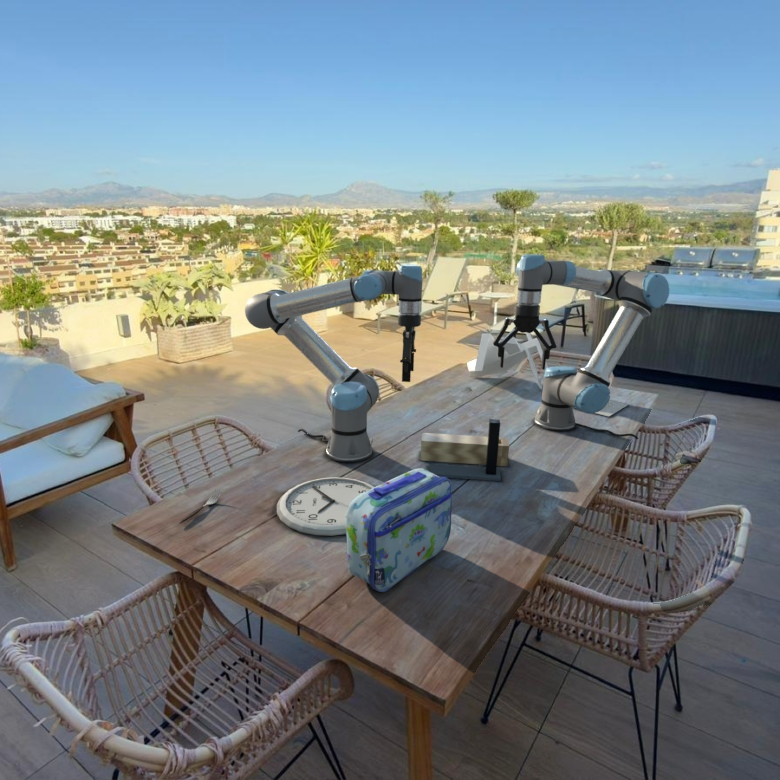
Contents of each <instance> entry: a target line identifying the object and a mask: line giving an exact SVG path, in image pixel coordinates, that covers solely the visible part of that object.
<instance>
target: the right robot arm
mask: <svg viewBox="0 0 780 780" xmlns="http://www.w3.org/2000/svg"><path fill="white" fill-rule="evenodd" d="M515 267H516V268H515V273H516V275H517V277H518V278H517V279H518V280H517V292H516V303H517V304H515V313H514V318H509V317H505V318H504V323H503V324H502V326H501V328H500V330H499V332H498V333H497V334H496V337H495V338H494V339H495V340H494V341H493V345H494V346H497V347H498V357H501V360H500V367H501V368H503V361H504V350H505V348H504V347H503V346H504V345H505V344H506V343H507V342H508V341H509V340H510V339H511V338H512V337H515V335H516V334H518V333H522V334H524V333H525V334H526V332H527V333H530V334H531V333H534V334H535V335H536V336H537V337H536V338H537V339H538V340H539V342H540V343H542V345H543V346H544V347H543V348H542V351H543V355H542V361H541V365H540V367H541V370H543V371H544V375H543V381H542V390H541V391H542V392H541V402H540V405H539V407H538V408H537V411H536V413H535V417H534V424H535V425H536V426H537V427H539V428H542V429H544V430H549V431H556V432H567V431H572V430H574V429H575V428H576V426H577V427H581V428H583V429H584V428H585V429H587V430H592V431H594V432H601V433H608V434H610V435H612V436H614V437H620V438H621V437H623V438H624V437H633V438H634V439H636V440H639V437H638V436H637V435H636V434H634V433H622V434H621V433H620V434H619V433H615V432H613V431H612V430H608V429H603V428H602V429H601V428H596V427H595V428H594V427H591V426H588V425H586V424H582V423H577V422H576V418H575V417H576V416H575V413H574V409H575V410H577V411H579V412H581V413H585V414H589V415H590V414H591V415H593V414H596V412H599V411H600V410H602V409H603V408H604V407H605V406H606V405H607V403H608V401H609V400H610V399H611V390H610V388H609V387H610V385H611V381H610V376H611V374H612V373H613V371H614V369H615V367H616V366H617V364H618V362H619V360H620V359H621V357H622V355H623V353H624V352H625V351H626V349H627V347H628V345H629V344H630V341H631V340H632V337H634V335H635V332H636V331H637V330H638V328H639V326H640V324H641V323H642V320H643V319H645V318H647V317H650V316H651V314H652V312H653V311H654V310H656V309H660V308H662V307H663V306H664V305H665V304H666V303H667V301H668V300H669V296H670V283H669V281H668V279H667V278H666V277H665V276H664V275H662V274H661V273H655V272H651V271H650V272H647V271H645V272H644V271H636V270H624V269H621V270H620V269H617V270H616V269H615V270H614V269H605V268H602V269H599V270H595V269H590V268H585V267H580V266H576V265H575V263H574V262H573V261H571V260H554V259H546V256H545V255H544V254H535V253H534V254H533V253H532V254H531V253H529V254H523V255H521V256H520V260H519V261H518V262H517V264H516V266H515ZM547 285H554V286H558V287H566V288H571V289H576V290H582V291H588V292H592V293H593V294H594V295H596V296H599V297H604V298H607V299H610V300H613V301H616V302H617V304H618V307H619V308H618V310H617V311H616V313H615V315H614V317H613V318H612V320H611V322H610V324H609V326H608V327H607V328H606V331H605V333H604V334H603V335H602V338H601V340H600V341H599V342H598V345H597V347H596V348H595V350H594V351H593V353H592V355H591V357H590V359H589V360H588V362H587V364H586V366H583V367H580V368H579V369H577V368H576V367H574V366H566V365H565V366H564V365H562V366H561V365H559V366H558V365H557V366H548V368H547V369H546V370H545V363H547V360H549V359H550V356H551V355H550V354H551V350H553V349H556V348H557V343H556V342H555V338H554V336H553V334H552V332H551V329H550V320H549V319H547V318H544V319H540V311H541V306H540V304H541V303H542V301H541V300H542V292H543V286H547ZM512 324H513V325H514V327H513V328H512V330H510V331H509V333H508V334H507V335H505V333H506V331H507V330H508V328H509V326H511V325H512ZM539 325H541V326H542V327H543V329H544V331H545V333H546V335H547V338H548V341H549V343H548V342H547V341H546V340H545V338H544V336H543V335H542V334H541V332H539V330H538V326H539ZM504 335H505V337H504V338H503V336H504ZM500 340H502V341H501V342H500V343H499V341H500Z"/></svg>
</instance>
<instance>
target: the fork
mask: <svg viewBox="0 0 780 780" xmlns="http://www.w3.org/2000/svg"><path fill="white" fill-rule="evenodd" d="M222 493H223V491H221V490H219V489H217V490H216V489H215V490H214V492H213V493H212V495H211V496H210V498H209V499H208V500H207V501H206V502H205V504H203V505H202V506H200V507H198V508H196V509H194V510H192V512H191V513H189V514H188V515H187V516H186V517H185V518H183V519H182V520H181V521H180V522H179V523H178V525H180V524H182V523H184V522H186V521H187V520H189V519H191V518H192V517H194V516H195V515H197V514H198V513H199V512H201V511H202V510H203V509H204V508H205V507H206V506H210V505H215V504H216V503H217V502H218V500H219V498H220V497H221V495H222Z"/></svg>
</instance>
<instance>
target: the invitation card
mask: <svg viewBox="0 0 780 780" xmlns="http://www.w3.org/2000/svg"><path fill="white" fill-rule="evenodd" d="M628 406H629V404H627V403H623V402H618V401H614V400H610V399H609V401H608V403H607V405H606V406H605V407H604V408H603V409H602V410H600V411H599V412H596V413H595V414H596V415H600V416H604V417H608V418H609V417H611V416H613V415H614V414H616V413H617V412H619V411H621V410H623V409H624V408H626V407H628Z"/></svg>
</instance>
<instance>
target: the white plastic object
mask: <svg viewBox="0 0 780 780" xmlns="http://www.w3.org/2000/svg"><path fill="white" fill-rule="evenodd" d="M525 335H526V338H527V341H524V342H522V343H521V342H519V341H517V338H516V337H515V336H513V337H512V338H511V339H510V340H509V341H508V342H507V343H506V344H505V345H504V346H503V347H504V348H505V350H504V361H503V368H501V367H500V360H501V357H498V347H497V346H494V345H493V341H494V340H495V338H494V336H493V335H492V334H491V333H490V332H489V333H487V332H486V333H481V336H480V337H481V338H480V342H479V346H478V347H479V348H478V351H477V355H476V358H475V359H473V360H470V361H468V362H466V365H467V369H468V373H469V374H470V375H471V376H472V377H473V378H476V377H483V376H491V375H492V376H493V375H498V376H501V375H504V374H507V373H508V372H509V370H510V369H512V368H513V367H514V366H516V365H518V364H519V363H520V362H521V361H523V360H525V359H526V357H527V360H528V363H529V367H530V369H531V372H532V375H533V379H534V382H535V384H536V385H537V386H538V388H539V389H540V390H543V385H542V382H541V380H540V377H539V374H538V371H537V368H536V365H535V361H534V358H533V355H532V354H535V353H537V352H538V355H539V358H540V360H541V362H542V355H543V348H542V346H541V342H540V340H539V338H538V337H535V338H533V337H532V334H531V333H527V332H525ZM502 340H503V339H500V341H499V343H500V342H501V341H502ZM547 368H549V366H548V363H547V362H546V363H545V370H546V369H547ZM545 370H544V371H545Z"/></svg>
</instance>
